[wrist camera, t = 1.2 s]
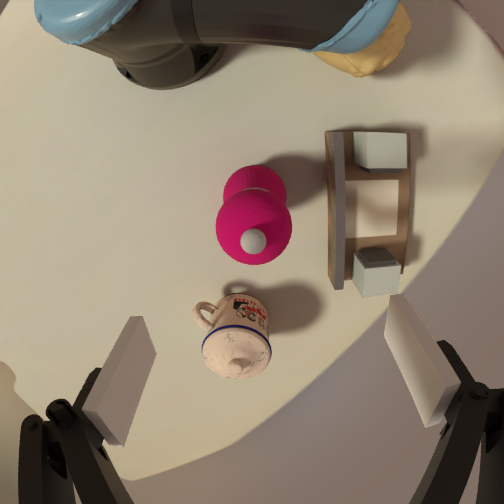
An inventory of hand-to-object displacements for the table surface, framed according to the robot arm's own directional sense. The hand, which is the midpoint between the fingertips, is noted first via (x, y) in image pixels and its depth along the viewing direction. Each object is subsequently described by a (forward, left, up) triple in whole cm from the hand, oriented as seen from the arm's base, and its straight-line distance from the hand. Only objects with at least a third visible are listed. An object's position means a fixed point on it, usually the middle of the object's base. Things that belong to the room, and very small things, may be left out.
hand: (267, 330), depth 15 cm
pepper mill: (-2, -1, -26) cm, 27 cm away
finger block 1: (-7, +14, -24) cm, 29 cm away
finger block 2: (+9, +14, -24) cm, 29 cm away
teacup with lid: (+16, -6, -27) cm, 31 cm away
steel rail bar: (+1, +9, -24) cm, 26 cm away
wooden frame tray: (+1, +14, -26) cm, 30 cm away
